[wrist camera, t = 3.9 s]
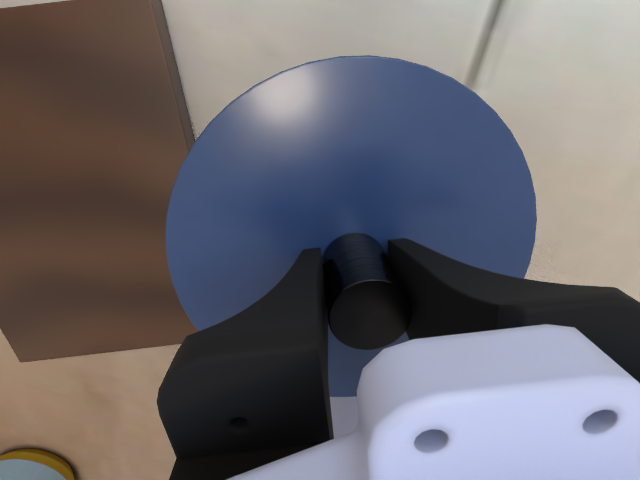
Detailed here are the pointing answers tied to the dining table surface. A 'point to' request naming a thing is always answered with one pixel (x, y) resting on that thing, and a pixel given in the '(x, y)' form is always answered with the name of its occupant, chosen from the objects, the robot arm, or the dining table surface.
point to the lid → (346, 196)
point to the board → (88, 177)
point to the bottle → (33, 466)
